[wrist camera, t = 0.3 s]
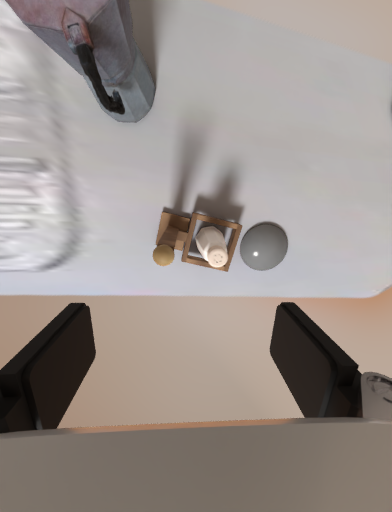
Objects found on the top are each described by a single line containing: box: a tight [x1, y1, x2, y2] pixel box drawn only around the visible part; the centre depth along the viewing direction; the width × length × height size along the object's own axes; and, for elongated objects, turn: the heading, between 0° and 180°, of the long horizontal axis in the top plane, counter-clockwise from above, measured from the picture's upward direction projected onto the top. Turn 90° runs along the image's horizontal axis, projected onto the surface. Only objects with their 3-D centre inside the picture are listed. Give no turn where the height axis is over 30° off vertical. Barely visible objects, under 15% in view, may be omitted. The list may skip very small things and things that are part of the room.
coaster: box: [240, 224, 288, 271], centre depth 38 cm, size 9×9×1 cm
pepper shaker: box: [195, 226, 228, 267], centre depth 32 cm, size 5×5×11 cm
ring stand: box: [153, 212, 242, 272], centre depth 29 cm, size 14×9×16 cm, turn 76°
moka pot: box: [5, 0, 155, 122], centre depth 20 cm, size 10×15×20 cm, turn 20°
